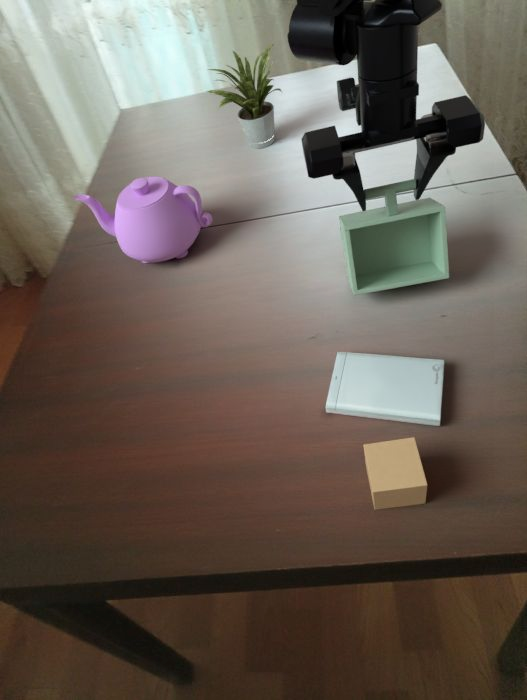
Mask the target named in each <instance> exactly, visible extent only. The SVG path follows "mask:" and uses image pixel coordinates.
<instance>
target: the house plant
mask: <svg viewBox="0 0 527 700" xmlns="http://www.w3.org/2000/svg"><path fill="white" fill-rule="evenodd" d="M274 46H275V43H273V44H271V45H269V46H268V48H266V49H265V51H264V52H261V53H259V55H258V56H256V59H255V60H254V65H253V72H252V69H251V65H250V61H249V59H248V58H247V57H244V64H245V65H244V64H243V61H242V58H241V57H240V56H239V55H238V54H237V52H236V51H234V50H232V54H233V56H234V58H235V62H236V64H237V68H238V70H237V69H236V68H234V67H232V66H230V65H228V64H226V67H228V68H230V69H231V70H233V71H234V72H235V74H236V75H237V76H238V77H239V79H238V78H237V77H236V76H235V75H233V74H232V73H231V72H229V71H227V70H226V69H225V70H224V69H218V68H208V69H206V70H207V71H215V72H217V73H215V74H216V75H217V74H218V75H223V76H225V77H227V78H228V79H229V80H230V81H231V82H232V83H233V84H234V85H233V84H231V86H232V87H233V88H234V89H235V91H236V90H237V91H238V92H240V93H241V94H242V95H243V96H242V95H241V94H239V93H236V92H232V91H226V90H219V89H213V90H206V93H209V94H214V95H216V96H217V95H218V96H220V97H222V98H224V99H222V100H221V101H220V102H219V107H218V109H220V108H221V107H223V106H225V105H227V104H230V103H234V104H236V105H237V106H239V107H240V109H239V110H238V112H237V114H236V115H237V116H236V117H237V118H238V121H239V123H240V125H241V128H242V130H243V133H244V135H245V138H246V140H247V142H248V141H249V142H252V143H259V142H264V141H267V140H268V139H270V138H272V136H273V135H274V137H273V138H272V139H271V140H270V141H268V142H266V143H263V144H251V143H249V142H248V144H249V147H250V148H252V149H255V150H256V149H257V150H259V149H264V148H267V147H269V146H271V145H273V144H274V142H275V139H276V135H275V134H276V133H275V134H274V131H275V108H274V107H275V106H274V105H273V103H272V102H270V101H266V98H267V96H269V94H271V93H272V92H275V91H279V92H281V93H283V90H282V88H274V89H273V87H274V86H275V85H273V84H270V83H271V81H274V78H268V76H269V74H270V73H271V68H272V65H273V63H274V60H275V59H273V61H272V62H271V64H270V66H269V68H268V71H267V73H266V74H265V72H266V69H267V67H268V63H269V59H270V57H271V54H270V51H271V49H272V48H273V47H274ZM260 57H261V59H260ZM259 60H260V61H259ZM258 62H259V64H258ZM257 65H258V69H257ZM244 66H245V67H244ZM256 71H257V81H255V80H256ZM252 73H253V74H252ZM213 81H217V79H215V80H213ZM218 81H220V82H223V83H224V82H225V83H226V80H222V79H218ZM237 84H238V85H237ZM272 89H273V90H272Z"/></svg>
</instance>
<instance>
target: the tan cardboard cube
mask: <svg viewBox="0 0 527 700" xmlns="http://www.w3.org/2000/svg"><path fill="white" fill-rule="evenodd" d="M363 452H364V453H363V454H364V461H365V469H366V473H367V480H368V484H369V488H370V493H371V499H372V504H373V510H374V511H375V510H376V511H377V510H384V509H385V510H386V509H392V508H400V507H408V506H416V505H424V504H426V503H427V493H428V481H427V478H426V474H425V470H424V467H423V463H422V460H421V456H420V455H421V454H420V452H419V448H418V444H417V442H416V438H415V437H414V436H413V437H405V438H400V439H399V438H398V439H393V440H392V439H391V440H385V441H384V440H383V441H379V442H371V443H364V444H363Z"/></svg>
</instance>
